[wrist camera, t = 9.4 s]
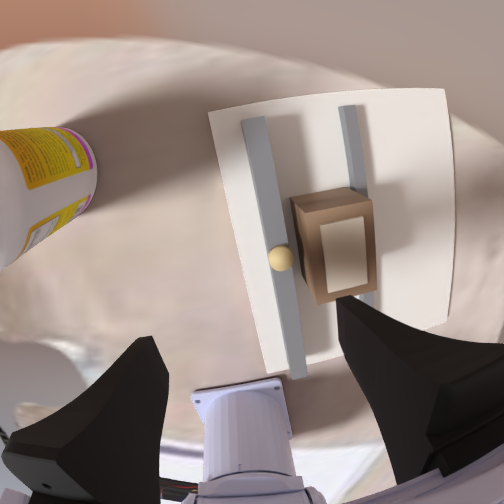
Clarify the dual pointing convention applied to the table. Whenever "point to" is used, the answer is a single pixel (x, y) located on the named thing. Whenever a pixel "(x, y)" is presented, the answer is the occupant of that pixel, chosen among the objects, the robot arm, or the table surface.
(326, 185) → the wall board
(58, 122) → the table surface
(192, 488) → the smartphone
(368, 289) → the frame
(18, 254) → the supplement bottle
